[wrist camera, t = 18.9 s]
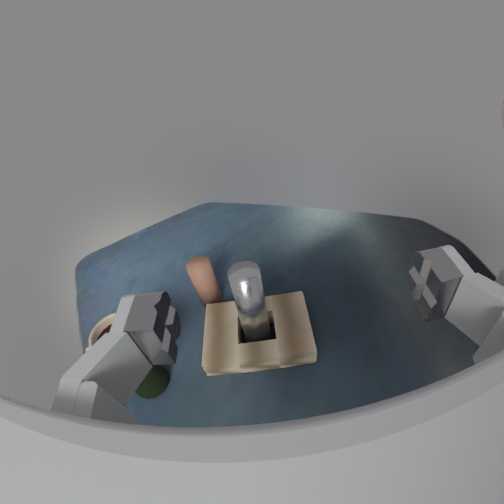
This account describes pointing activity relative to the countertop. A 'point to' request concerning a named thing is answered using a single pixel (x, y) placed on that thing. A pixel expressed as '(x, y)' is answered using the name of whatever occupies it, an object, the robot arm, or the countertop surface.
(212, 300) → the terracotta pin
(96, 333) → the character mug
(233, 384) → the countertop surface
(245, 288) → the steel pin
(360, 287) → the countertop surface
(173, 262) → the countertop surface
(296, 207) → the countertop surface
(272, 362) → the hole plate
